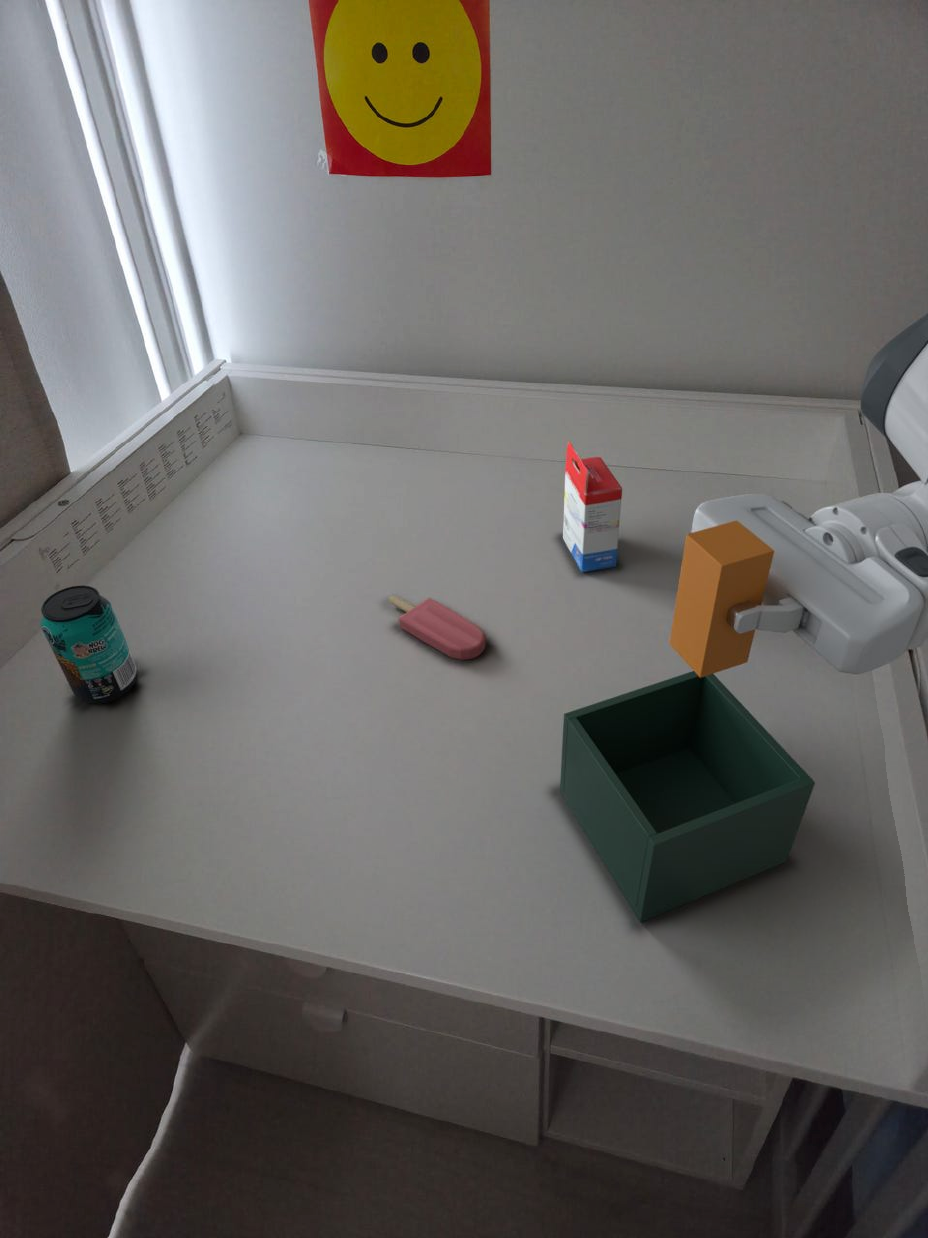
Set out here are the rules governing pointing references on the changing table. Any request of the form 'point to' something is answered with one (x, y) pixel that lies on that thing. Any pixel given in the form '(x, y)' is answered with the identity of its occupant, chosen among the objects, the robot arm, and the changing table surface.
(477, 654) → the popsicle
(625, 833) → the open green box
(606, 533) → the ink box
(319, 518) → the changing table surface
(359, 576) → the changing table surface
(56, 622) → the beverage can
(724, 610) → the orange rectangular prism
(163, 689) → the changing table surface
